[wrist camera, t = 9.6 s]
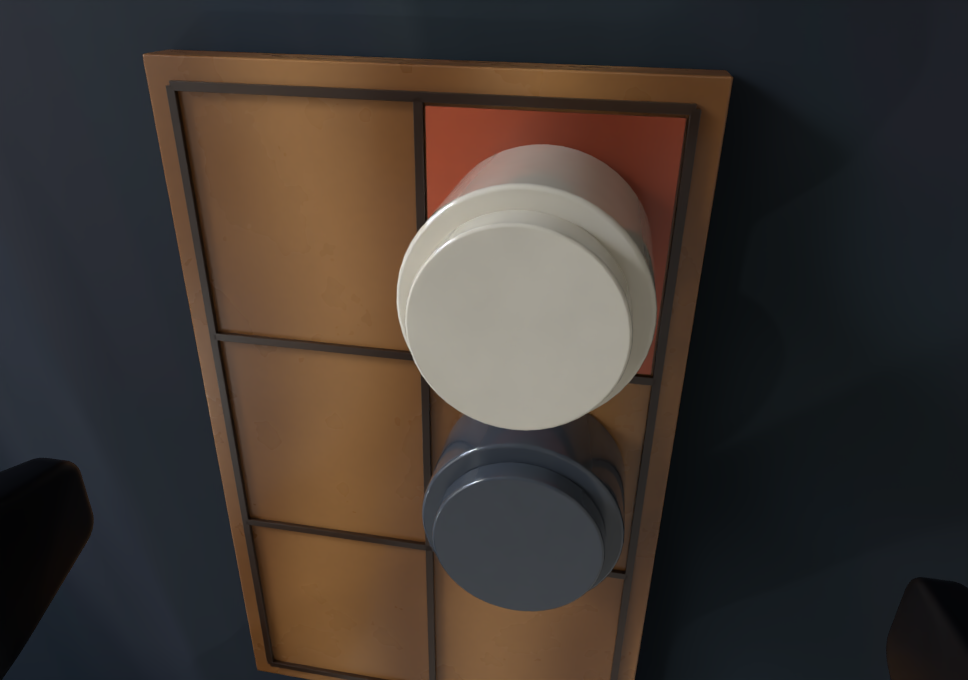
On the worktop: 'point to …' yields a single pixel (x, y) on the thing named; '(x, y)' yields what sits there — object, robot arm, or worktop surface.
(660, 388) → the wooden grid board
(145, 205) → the worktop surface
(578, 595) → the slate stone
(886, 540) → the worktop surface
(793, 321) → the worktop surface
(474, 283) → the white lidded jar
